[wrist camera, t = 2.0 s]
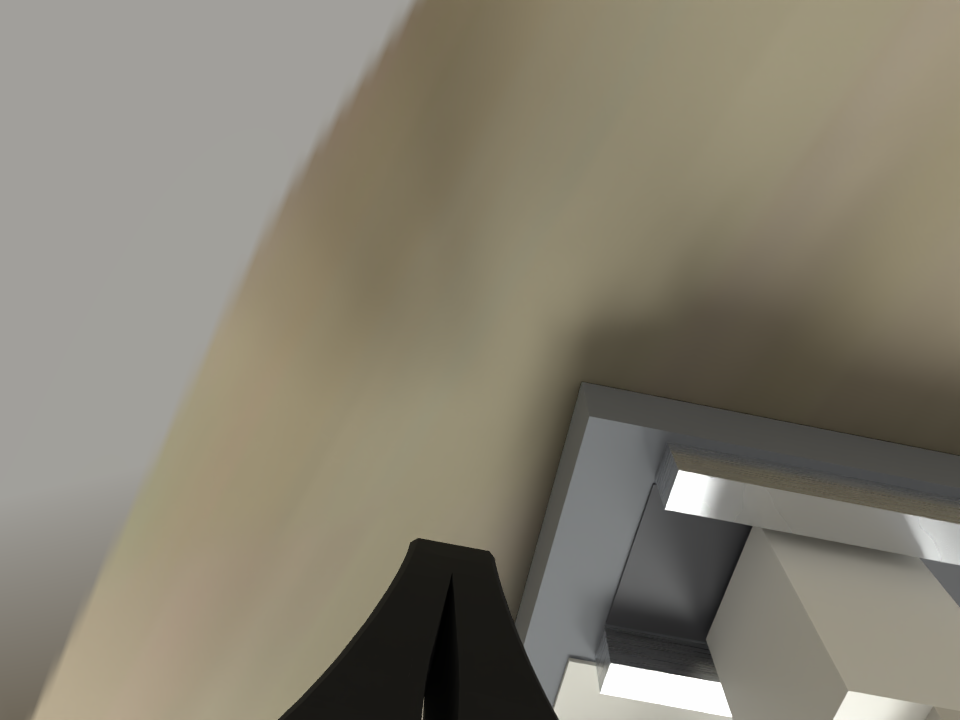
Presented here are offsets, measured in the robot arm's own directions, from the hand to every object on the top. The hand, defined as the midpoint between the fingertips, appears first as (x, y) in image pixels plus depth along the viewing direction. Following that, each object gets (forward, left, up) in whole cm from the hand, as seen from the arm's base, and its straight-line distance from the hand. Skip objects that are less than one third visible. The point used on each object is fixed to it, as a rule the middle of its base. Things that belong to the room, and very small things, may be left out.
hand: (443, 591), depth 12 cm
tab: (0, -7, -2) cm, 7 cm away
